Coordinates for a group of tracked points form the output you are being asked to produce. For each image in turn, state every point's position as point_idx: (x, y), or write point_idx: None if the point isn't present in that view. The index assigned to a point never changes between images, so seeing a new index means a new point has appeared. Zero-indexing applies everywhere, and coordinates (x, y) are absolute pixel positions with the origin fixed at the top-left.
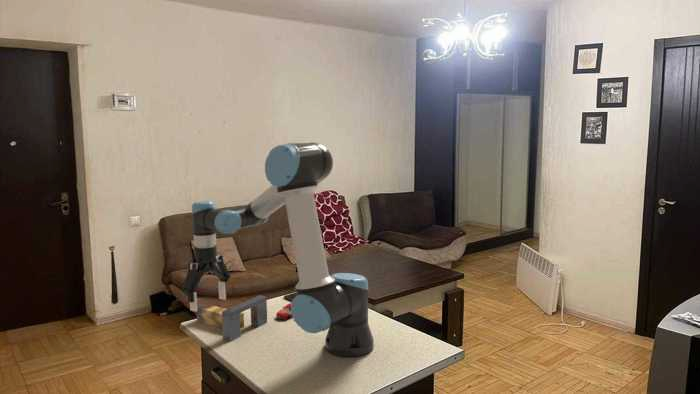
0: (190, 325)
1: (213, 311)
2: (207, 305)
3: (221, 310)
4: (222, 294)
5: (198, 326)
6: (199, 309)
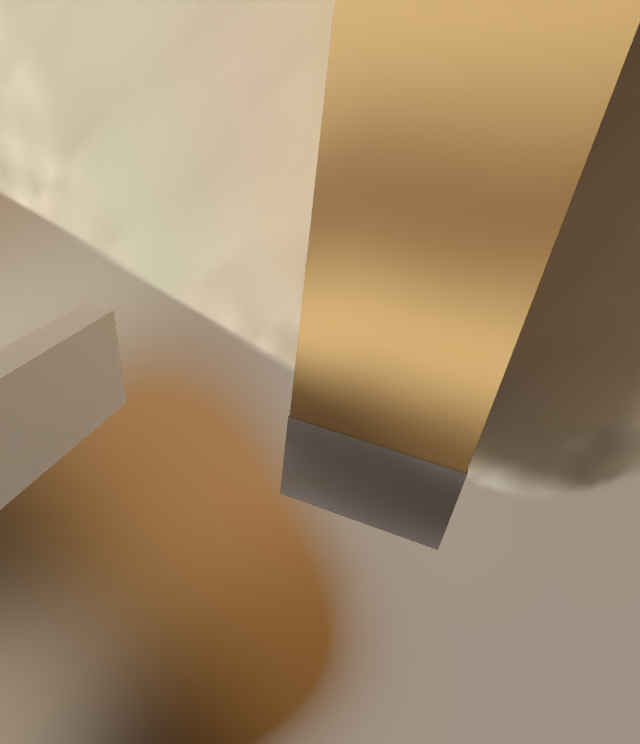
0: (586, 451)
1: (526, 261)
2: (320, 457)
3: (430, 140)
4: (57, 383)
5: (602, 364)
6: (454, 499)
